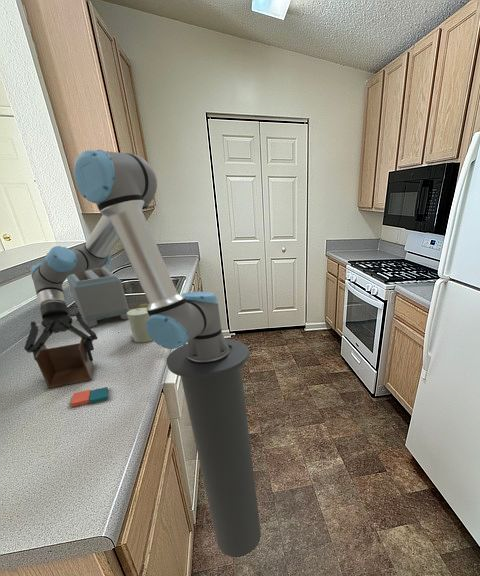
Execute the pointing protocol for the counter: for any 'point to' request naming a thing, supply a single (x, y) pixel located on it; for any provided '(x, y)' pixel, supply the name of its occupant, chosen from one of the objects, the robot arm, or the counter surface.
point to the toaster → (98, 295)
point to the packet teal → (98, 395)
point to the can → (139, 324)
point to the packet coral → (80, 398)
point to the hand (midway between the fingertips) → (68, 364)
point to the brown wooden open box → (65, 364)
